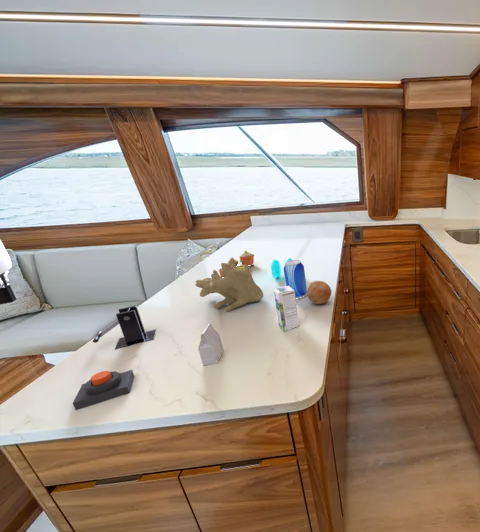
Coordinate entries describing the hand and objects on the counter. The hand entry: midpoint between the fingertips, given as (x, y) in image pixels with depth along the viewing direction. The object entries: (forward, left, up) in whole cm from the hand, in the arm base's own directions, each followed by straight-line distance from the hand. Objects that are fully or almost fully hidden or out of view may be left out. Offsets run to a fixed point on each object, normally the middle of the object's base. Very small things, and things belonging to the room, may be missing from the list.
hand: (5, 302), depth 71 cm
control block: (+14, -12, -25) cm, 31 cm away
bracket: (+17, +15, -25) cm, 34 cm away
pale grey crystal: (+38, -11, -25) cm, 47 cm away
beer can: (+72, +20, -25) cm, 79 cm away
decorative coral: (+47, +29, -25) cm, 61 cm away
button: (+14, -12, -21) cm, 28 cm away
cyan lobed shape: (+73, +49, -25) cm, 91 cm away
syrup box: (+62, -5, -25) cm, 67 cm away
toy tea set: (+54, +76, -25) cm, 97 cm away
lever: (+14, +15, -18) cm, 27 cm away
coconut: (+78, +7, -25) cm, 82 cm away
